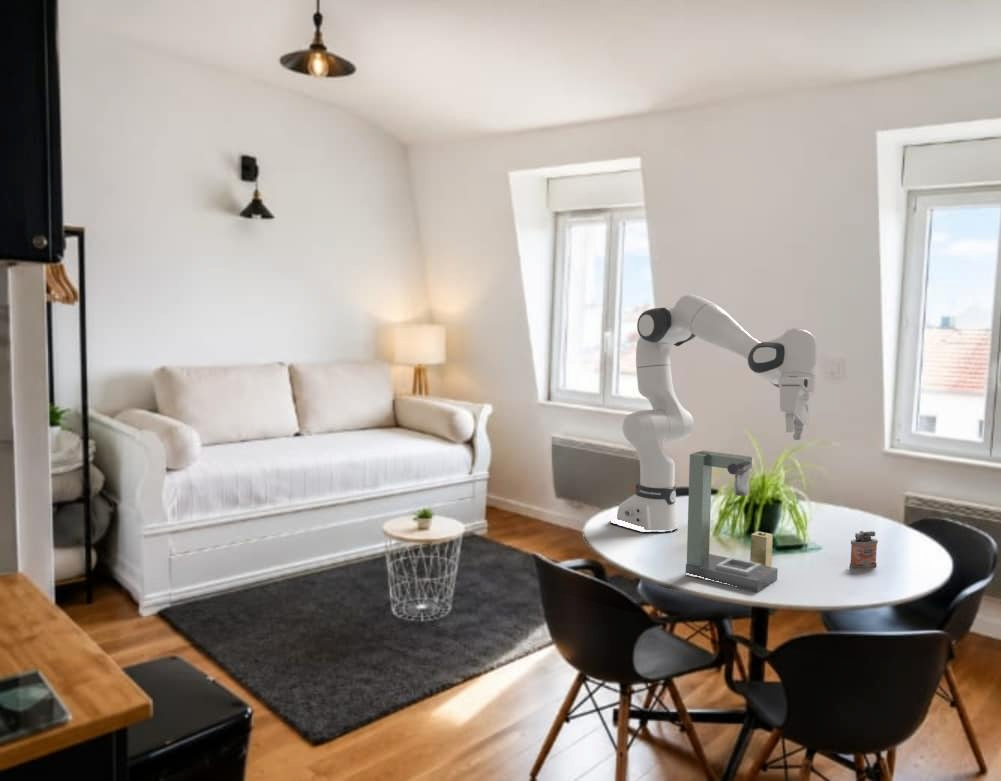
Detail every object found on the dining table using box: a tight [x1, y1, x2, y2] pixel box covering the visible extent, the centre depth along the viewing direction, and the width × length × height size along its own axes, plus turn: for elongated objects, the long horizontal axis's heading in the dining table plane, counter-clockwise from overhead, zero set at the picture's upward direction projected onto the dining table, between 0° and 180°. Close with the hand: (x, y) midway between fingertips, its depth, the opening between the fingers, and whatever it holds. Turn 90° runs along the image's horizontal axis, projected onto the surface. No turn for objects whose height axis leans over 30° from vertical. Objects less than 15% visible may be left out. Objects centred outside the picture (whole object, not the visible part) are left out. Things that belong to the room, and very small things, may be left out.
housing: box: [749, 530, 774, 567], centre depth 225 cm, size 4×4×9 cm
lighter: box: [849, 530, 879, 570], centre depth 225 cm, size 8×3×10 cm, turn 106°
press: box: [685, 450, 779, 593], centre depth 212 cm, size 20×18×33 cm
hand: (793, 437), depth 215 cm, fingers open, 8 cm apart
